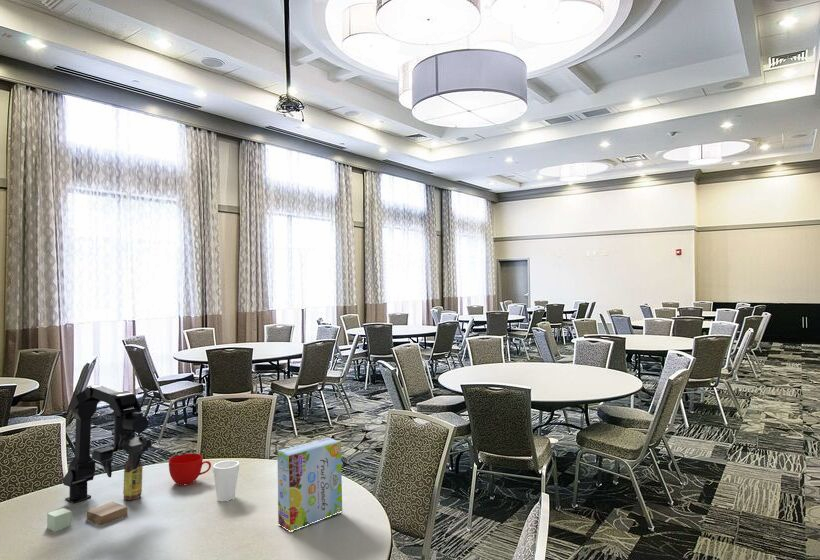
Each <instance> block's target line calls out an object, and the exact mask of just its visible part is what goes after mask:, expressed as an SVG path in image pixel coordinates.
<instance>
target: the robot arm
mask: <svg viewBox="0 0 820 560" xmlns="http://www.w3.org/2000/svg"><path fill="white" fill-rule="evenodd" d="M101 401H102V402H104V403H107V404H108V407H109V408H110V409H111V410H112V411H113V412H112V413H111V414H110V415H111V417H112V416H113V420H114V421H113V432H111V436H113V443H111V448H107V447H102V448H98V449H94V450H93V451H92V453H91V435H92V434H91V433H92V418H93V416H94V415H95V413H96V411H98V410H97V408H98V404H99V403H100V402H101ZM69 407H70V409H71V410H70V411H71V414H72V415H73V417H74V418H75V440H74V457H73V458H72V459H71V461H70V463H69V465H68V471H67V472H66V474H65V475H64V477H63V478H62V484H63V486H66V487H69V496H68V497H65V498H64V500H65V501H67V502H70V503H73V504H75V503H79V502H81V501H84V500H87V499H89V498H91V497H92V495H91V494H88V482H90V481H93V480H94V477H95V473H96V461H97V462H99V463H100V464H101V466H102V467H103V469H104V471H105V473H106V475H107V477H108V478H112V473H113V472H112V471H113V470H112V467H113V465H112V463H113V461H114V458H112V457H113V456H114V455H115V454H119V453H122V452H126V453H127V454H128V455H129V454H132V457H133V467H134V469H137V467H138V464H139V461H140V460H141V458H142V457H143V454H144V453H145V452H146V451H148V450H149V449H150V448H152V447H153V441H152V440H151V438H148V437H147V436H146V435H144V434H143V435H141V436H136V433H137V434H141V433H144V431H146V430H147V428H148V427H149V419H148V418H147V416H144V413H143V412H142V405H140V403H139V401H138V399H137V396H136V395H135V393H134V392H133V391H132V392H131V391H120V392H119V391H118V390H117V391H116V390H113V389H111V388H108V387H105V386H103V384H100V383H99V384H94V385H92V384H91V385H89V386H87V387H85V388H84V390H82V391H81V392H78V393H77V394H76V395H74V397H73V398H72V399H71V400H70V406H69Z"/></svg>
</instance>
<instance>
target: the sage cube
mask: <svg viewBox="0 0 820 560" xmlns="http://www.w3.org/2000/svg"><path fill="white" fill-rule="evenodd" d="M46 514H47V515H46V516H47V517H46V523H47V525H46V529H47V530H50V531H53V532H54V533H55V532H59V531H61V530H63V528H64V529H66V528H69V527H71V526H72V510H70V509H67V508H64V507H62V508H59V509H57V510H53V511H51V512H47V513H46Z"/></svg>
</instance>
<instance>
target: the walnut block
mask: <svg viewBox="0 0 820 560" xmlns="http://www.w3.org/2000/svg"><path fill="white" fill-rule="evenodd" d="M127 516H128V506H127V505H123V504H120V503H118V502H115V501H110V502H108V503H105V504H102V505H99V506H96V507H93V508H91V509H88V510H86V521H87V522H91V523H93V524H96V525H98V526H101V527H102V526H105V525H108V524H109V523H112V522H115V521H117V520H120V519H123V518H125V517H127Z"/></svg>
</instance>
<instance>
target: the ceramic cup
mask: <svg viewBox="0 0 820 560" xmlns="http://www.w3.org/2000/svg"><path fill="white" fill-rule="evenodd" d="M204 464H207V465H208V468H207V469H206V470H204V471H202V468H203V465H204ZM211 468H212V463H211V461H208V460H205V461H203V455H202V454H200V453H183V454H177V455H175V456H172V457H170V458H169V459H168V470H169V475H170V478H171V479H172V481H173V482H174V483H175V484H176V485H177V484H179V485H178V486H181V485H183V486H185V485H184V484H189V485H191V484H190V483H192V484H194V483H195V481H196V480H197V479H198V478H199V476H200V475H201V476H202V475H204V474H206V473H208V472H209V471H210V470H211ZM201 471H202V472H201ZM193 482H194V483H193Z"/></svg>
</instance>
